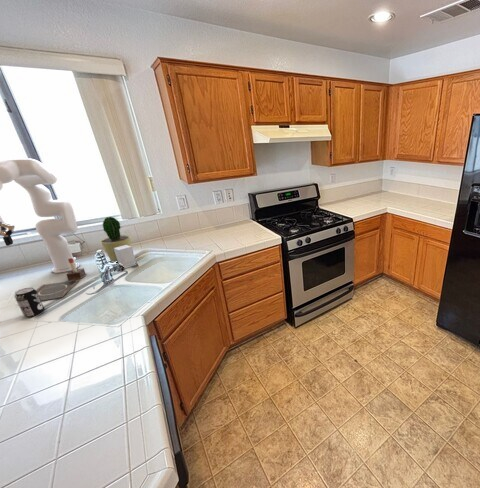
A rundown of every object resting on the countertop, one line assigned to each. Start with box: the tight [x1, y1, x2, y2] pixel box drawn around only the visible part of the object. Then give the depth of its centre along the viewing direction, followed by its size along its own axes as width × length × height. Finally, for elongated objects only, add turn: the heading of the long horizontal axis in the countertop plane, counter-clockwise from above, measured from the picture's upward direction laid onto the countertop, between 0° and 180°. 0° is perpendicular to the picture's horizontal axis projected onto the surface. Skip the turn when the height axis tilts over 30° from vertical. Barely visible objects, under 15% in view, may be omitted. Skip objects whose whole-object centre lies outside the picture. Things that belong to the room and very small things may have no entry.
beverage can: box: [14, 286, 45, 318], centre depth 117 cm, size 7×7×12 cm
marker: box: [68, 258, 78, 272], centre depth 150 cm, size 2×2×12 cm
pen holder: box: [65, 268, 87, 281], centre depth 152 cm, size 6×6×4 cm
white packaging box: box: [114, 245, 138, 269], centre depth 165 cm, size 7×7×13 cm
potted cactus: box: [100, 216, 132, 262], centre depth 171 cm, size 15×15×30 cm
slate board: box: [35, 279, 81, 302], centre depth 137 cm, size 20×16×1 cm
